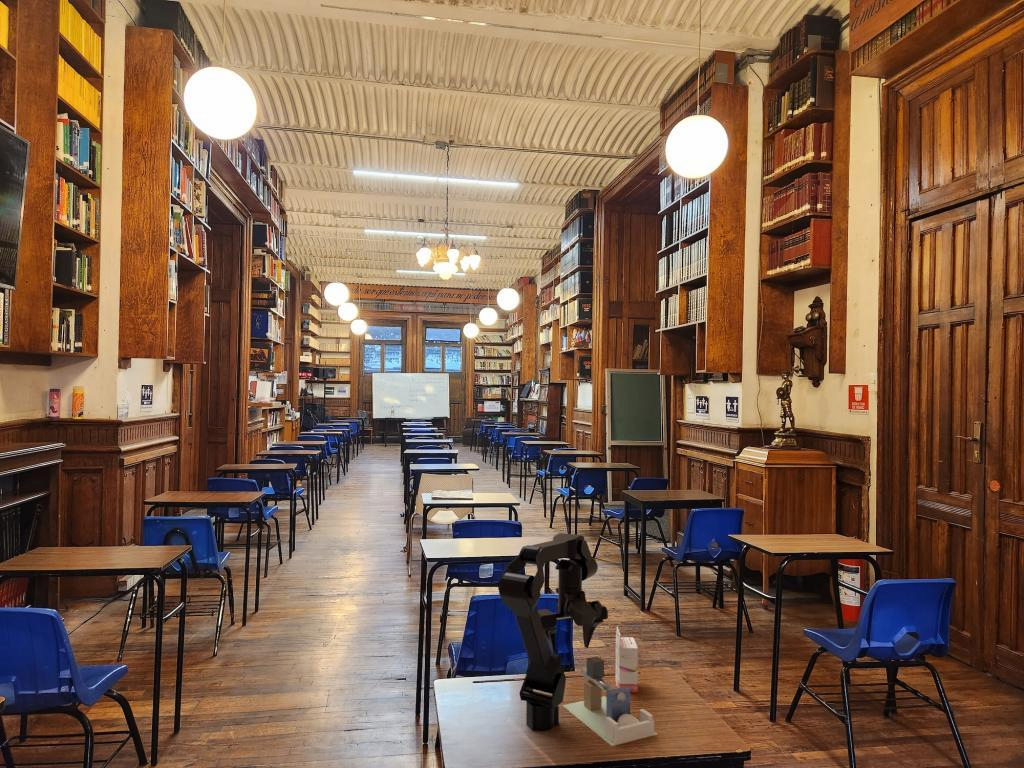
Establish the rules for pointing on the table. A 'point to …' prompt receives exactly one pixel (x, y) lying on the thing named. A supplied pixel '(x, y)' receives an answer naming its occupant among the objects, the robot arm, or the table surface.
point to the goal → (630, 729)
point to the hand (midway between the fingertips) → (570, 650)
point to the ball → (625, 720)
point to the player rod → (607, 689)
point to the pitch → (593, 710)
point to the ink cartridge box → (626, 663)
